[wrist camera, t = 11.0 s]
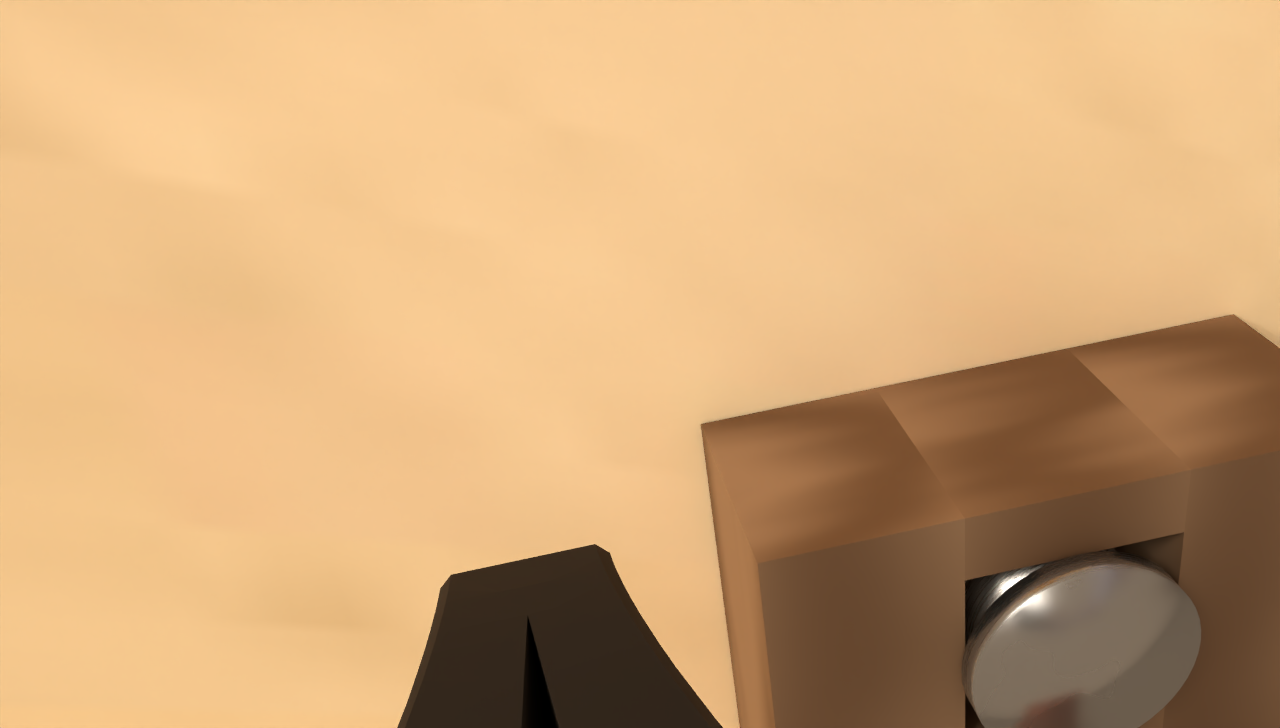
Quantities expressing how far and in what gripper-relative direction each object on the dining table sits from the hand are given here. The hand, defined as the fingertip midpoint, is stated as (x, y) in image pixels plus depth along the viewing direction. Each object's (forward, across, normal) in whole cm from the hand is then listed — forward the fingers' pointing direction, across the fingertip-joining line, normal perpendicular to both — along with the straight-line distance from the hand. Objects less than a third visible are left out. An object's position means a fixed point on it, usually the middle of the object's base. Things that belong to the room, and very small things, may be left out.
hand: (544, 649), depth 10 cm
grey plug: (+9, -8, +7) cm, 14 cm away
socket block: (+10, -8, +14) cm, 19 cm away
